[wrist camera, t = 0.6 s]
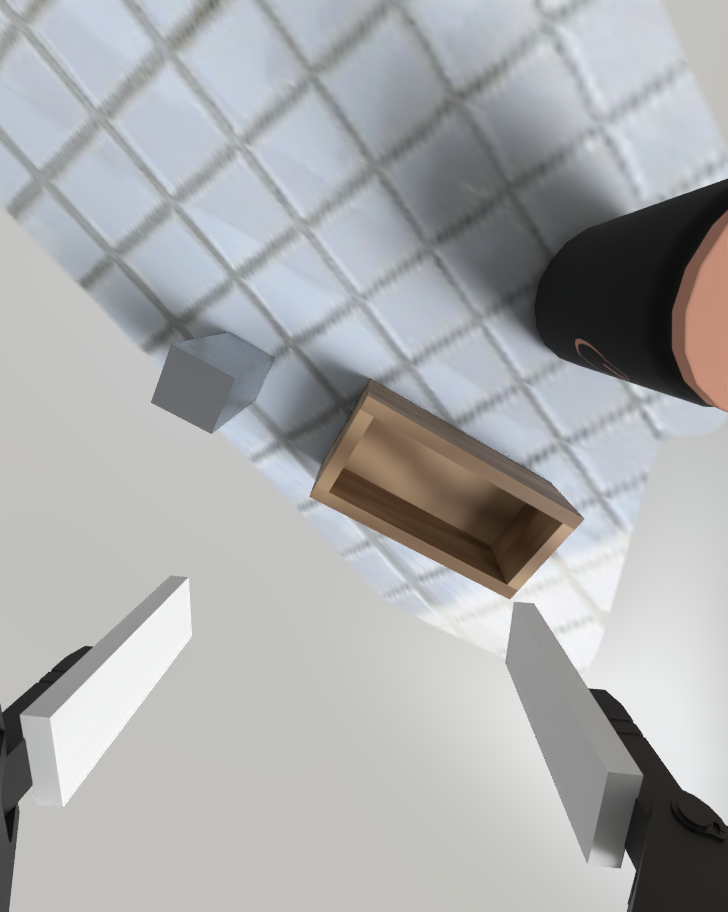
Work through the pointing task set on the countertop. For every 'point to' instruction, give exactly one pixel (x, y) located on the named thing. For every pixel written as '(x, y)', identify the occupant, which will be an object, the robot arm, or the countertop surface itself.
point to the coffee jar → (647, 298)
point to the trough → (442, 493)
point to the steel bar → (211, 379)
